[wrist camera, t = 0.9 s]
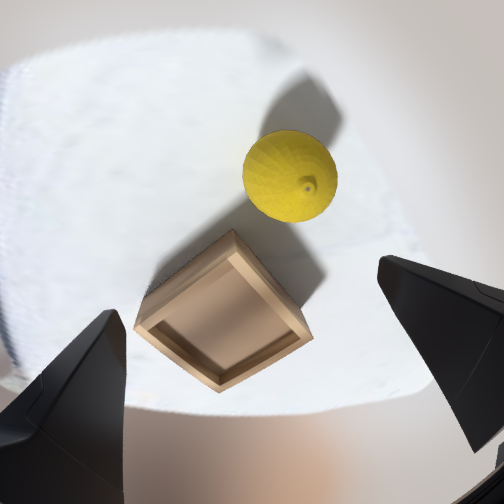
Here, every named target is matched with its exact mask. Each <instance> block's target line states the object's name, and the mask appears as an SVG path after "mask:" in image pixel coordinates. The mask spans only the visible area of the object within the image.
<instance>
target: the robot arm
mask: <svg viewBox="0 0 504 504" xmlns="http://www.w3.org/2000/svg"><path fill="white" fill-rule="evenodd" d="M377 281H378V284H379V286H380V287H381V289H382V291H383V293H384V295H385V297H386V299H387V300H388V302H389V304H390V306H391V308H392V310H393V312H394V314H395V315H396V317H397V319H398V320H399V322H400V323H401V325H402V326H403V328H404V329H405V331H406V332H407V334H408V336H409V337H410V339H411V340H412V342H413V343H414V345H415V347H416V348H417V350H418V351H419V353H420V355H421V356H422V358H423V360H424V361H425V363H426V365H427V366H428V368H429V370H430V371H431V373H432V375H433V376H434V378H435V380H436V382H437V383H438V385H439V387H440V389H441V390H442V392H443V394H444V396H445V397H446V399H447V401H448V403H449V405H450V406H451V409H452V410H453V412H454V414H455V416H456V418H457V420H458V422H459V424H460V426H461V428H462V430H463V432H464V434H465V436H466V438H467V440H468V442H469V444H470V446H471V448H472V450H473V452H474V453H476V452H477V451H479V450H480V449H481V448H483V447H484V446H485V445H486V444H487V443H488V442H490V441H491V440H492V439H493V438H494V437H496V436H497V435H498V434H499V433H500V432H501V431H502V430H503V429H504V290H501V289H498V288H494V287H491V286H488V285H485V284H482V283H479V282H475V281H472V280H470V279H467V278H463V277H461V276H458V275H454V274H451V273H448V272H445V271H442V270H439V269H436V268H433V267H429V266H426V265H423V264H420V263H416V262H413V261H410V260H407V259H403V258H400V257H397V256H393V255H387V256H383V257H381V258H380V260H379V266H378V274H377ZM125 387H126V330H125V327H124V325H123V323H122V321H121V318H120V316H119V314H118V312H117V311H116V310H115V309H110V310H104V311H103V312H102V313H101V314H100V315H99V316H98V317H97V318H95V319H94V320H93V321H92V322H91V323H90V324H89V325H88V326H87V327H86V328H85V329H84V330H83V331H82V332H81V333H80V334H79V335H78V336H77V337H76V338H75V339H74V340H73V341H72V342H71V343H70V344H69V345H68V346H67V347H66V348H65V349H64V350H63V351H62V352H61V353H60V354H59V355H58V356H57V357H56V358H55V359H54V360H53V361H52V362H51V363H50V364H49V365H48V366H47V367H46V368H45V369H44V370H43V371H42V373H41V374H39V375H38V376H37V377H36V379H35V380H34V381H33V382H32V383H31V384H30V385H29V386H28V387H27V388H26V389H25V390H24V391H23V392H22V393H21V394H20V395H19V396H18V397H17V398H16V399H15V400H14V401H12V402H11V403H10V404H9V405H8V406H7V407H6V408H5V409H4V410H3V411H2V412H1V413H0V504H124V493H123V459H122V458H123V418H124V401H125ZM452 504H504V442H503V443H502V444H500V445H499V448H498V455H497V460H496V466H495V470H494V471H493V472H491V473H490V474H489V475H488V476H487V477H486V478H484V479H483V480H482V481H481V482H480V483H478V484H477V485H476V486H475V487H473V488H472V489H471V490H470V491H468V492H467V493H466V494H464V495H463V496H462V497H460V498H459V499H457V500H456V501H455V502H453V503H452Z"/></svg>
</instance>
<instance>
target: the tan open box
mask: <svg viewBox="0 0 504 504" xmlns="http://www.w3.org/2000/svg"><path fill="white" fill-rule="evenodd" d="M133 330H134V331H135V332H137V333H138V334H139V335H140V336H141V337H143V338H144V339H145V340H146V341H147V342H149V343H150V344H151V345H152V346H154V347H155V348H156V349H158V350H159V351H160V352H161V353H163V354H164V355H165V356H167V357H168V358H169V359H170V360H172V361H173V362H174V363H176V364H177V365H179V366H180V367H181V368H183V369H184V370H185V371H187V372H188V373H190V374H191V375H192V376H194V377H195V378H197V379H198V380H199V381H201V382H202V383H204V384H205V385H207V386H208V387H210V388H211V389H213V390H214V391H216V392H217V393H221V392H223V391H225V390H226V389H228V388H230V387H232V386H234V385H236V384H238V383H240V382H241V381H243V380H245V379H247V378H249V377H251V376H252V375H254V374H256V373H258V372H259V371H261V370H263V369H265V368H266V367H268V366H270V365H272V364H273V363H275V362H277V361H278V360H280V359H282V358H283V357H285V356H287V355H288V354H290V353H292V352H293V351H295V350H296V349H298V348H300V347H301V346H303V345H304V344H306V343H308V342H309V341H311V340H312V339H314V338H313V336H312V334H311V331H310V329H309V327H308V325H307V322H306V320H305V318H304V316H303V313H302V311H301V309H300V308H299V307H298V305H297V304H296V303H295V302H294V301H293V300H292V298H291V297H290V296H289V295H288V294H287V292H286V291H285V290H284V289H283V288H282V287H281V285H280V284H279V283H278V282H277V281H276V279H275V278H274V277H273V276H272V275H271V274H270V272H269V271H268V270H267V269H266V268H265V266H264V265H263V264H262V263H261V262H260V261H259V259H258V258H257V257H256V256H255V255H254V253H253V252H252V251H251V250H250V249H249V248H248V246H247V245H246V244H245V243H244V242H243V240H242V239H241V238H240V237H239V236H238V235H237V233H236V232H235V231H234V230H233V229H232V230H231V231H229V232H228V233H227V234H225V235H224V236H223V237H221V238H220V239H219V240H217V241H216V242H215V243H214V244H212V245H211V246H210V247H208V248H207V249H206V250H204V251H203V252H202V253H201V254H199V255H198V256H197V257H195V258H194V259H193V260H192V261H190V262H189V263H188V264H186V265H185V266H184V267H183V268H181V269H180V270H179V271H177V272H176V273H175V274H174V275H172V276H171V277H170V278H169V279H167V280H166V281H165V282H164V283H162V284H161V285H160V286H159V287H157V288H156V289H155V290H154V291H152V292H151V293H150V294H149V295H147V296H146V297H145V298H144V299H143V300H142V303H141V306H140V309H139V312H138V315H137V318H136V321H135V324H134V328H133Z"/></svg>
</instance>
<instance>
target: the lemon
mask: <svg viewBox="0 0 504 504" xmlns="http://www.w3.org/2000/svg"><path fill="white" fill-rule="evenodd" d="M242 177H243V182H244V187H245V190H246V192H247V194H248V196H249V198H250V200H251V201H252V202H253V204H254V205H255V206H256V207H257V208H258V209H259V210H260V211H262V212H263V213H265V214H266V215H267V216H269V217H271V218H274V219H276V220H279V221H282V222H291V223H297V222H304V221H307V220H310V219H312V218H315V217H316V216H318V215H319V214H321V213H322V212H323V211H324V210H325V209H326V208H327V207H328V206H329V205H330V203H331V201H332V199H333V198H334V196H335V192H336V189H337V170H336V165H335V162H334V160H333V159H332V157H331V155H330V153H329V151H328V150H327V149H326V148H325V147H324V146H323V145H322V144H321V143H320V142H319V141H318V140H316V139H315V138H313V137H311V136H310V135H308V134H305V133H302V132H299V131H293V130H281V131H277V132H272V133H270V134H268V135H266V136H264V137H262V138H260V139H259V140H258V141H257V142H256V143H255V144H254V145H253V146H252V147H251V149H250V150H249V152H248V153H247V155H246V158H245V161H244V164H243V176H242Z"/></svg>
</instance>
